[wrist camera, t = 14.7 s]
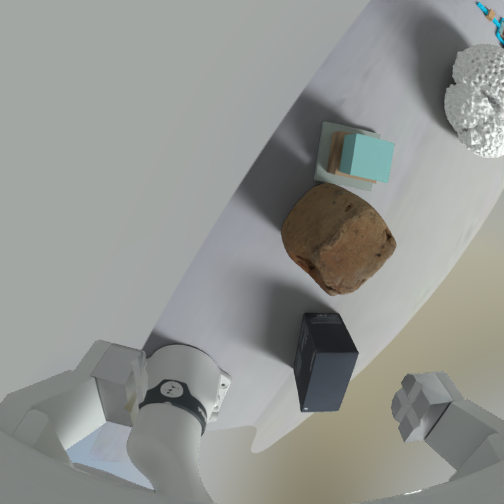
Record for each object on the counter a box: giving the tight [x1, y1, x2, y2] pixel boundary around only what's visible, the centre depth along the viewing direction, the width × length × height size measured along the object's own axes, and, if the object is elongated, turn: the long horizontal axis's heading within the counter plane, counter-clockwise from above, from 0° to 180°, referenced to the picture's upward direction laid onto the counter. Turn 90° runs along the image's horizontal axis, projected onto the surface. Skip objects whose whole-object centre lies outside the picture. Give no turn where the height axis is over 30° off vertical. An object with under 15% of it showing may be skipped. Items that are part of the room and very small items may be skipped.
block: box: [281, 183, 396, 296], centre depth 37 cm, size 11×8×20 cm
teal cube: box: [339, 133, 394, 183], centre depth 35 cm, size 5×5×5 cm
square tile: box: [314, 121, 380, 191], centre depth 43 cm, size 9×9×1 cm
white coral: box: [444, 44, 504, 158], centre depth 33 cm, size 20×18×16 cm
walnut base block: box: [327, 131, 376, 183], centre depth 40 cm, size 6×6×5 cm
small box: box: [294, 313, 359, 412], centre depth 48 cm, size 13×7×12 cm, turn 176°
